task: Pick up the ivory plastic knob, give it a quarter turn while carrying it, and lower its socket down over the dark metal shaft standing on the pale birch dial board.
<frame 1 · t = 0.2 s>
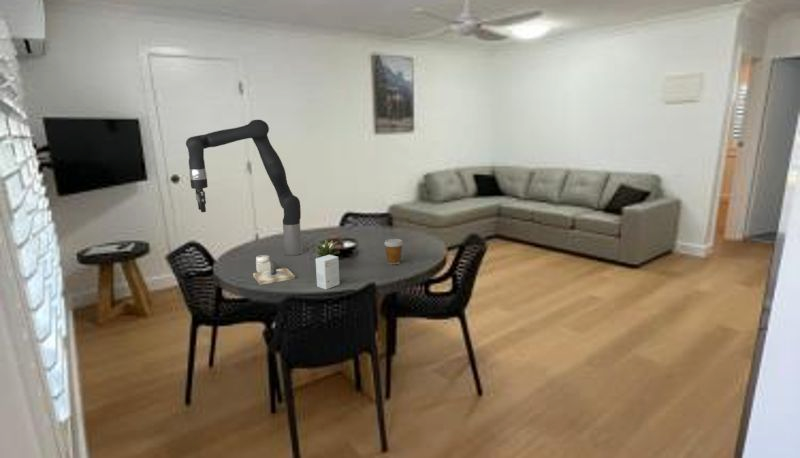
hand: (202, 210, 222), 29 cm above the table, tool pointing down, fingers open, 8 cm apart
knob: (263, 271, 219), on the table
dial board: (273, 277, 210), on the table
small box: (328, 286, 198), on the table
disposable coffee cup: (393, 263, 230), on the table
house plant: (326, 272, 216), on the table
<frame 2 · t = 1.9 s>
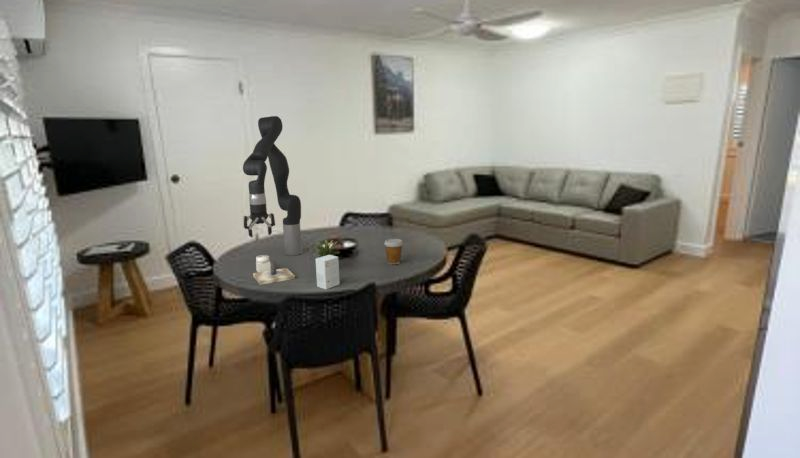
hand: (260, 235, 215), 18 cm above the table, tool pointing down, fingers open, 8 cm apart
nothing on the table moved.
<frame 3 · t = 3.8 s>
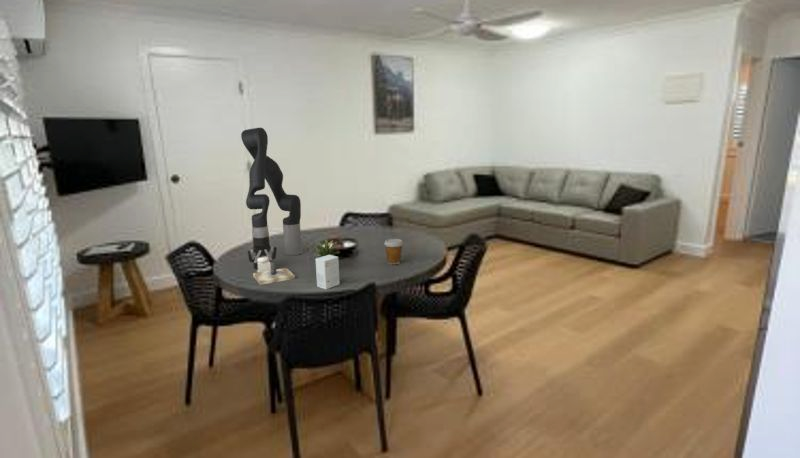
hand: (263, 268, 219), 1 cm above the table, tool pointing down, fingers closed on knob, 6 cm apart
knob: (263, 271, 219), on the table, touching gripper
everything else where it was.
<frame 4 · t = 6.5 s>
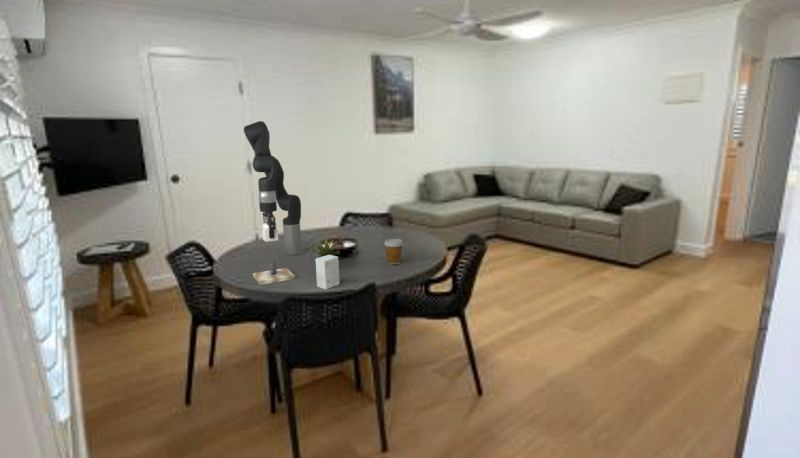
hand: (270, 236, 205), 20 cm above the table, tool pointing down, fingers closed on knob, 6 cm apart
knob: (270, 239, 206), point 18 cm above the table, touching gripper
everything else where it was.
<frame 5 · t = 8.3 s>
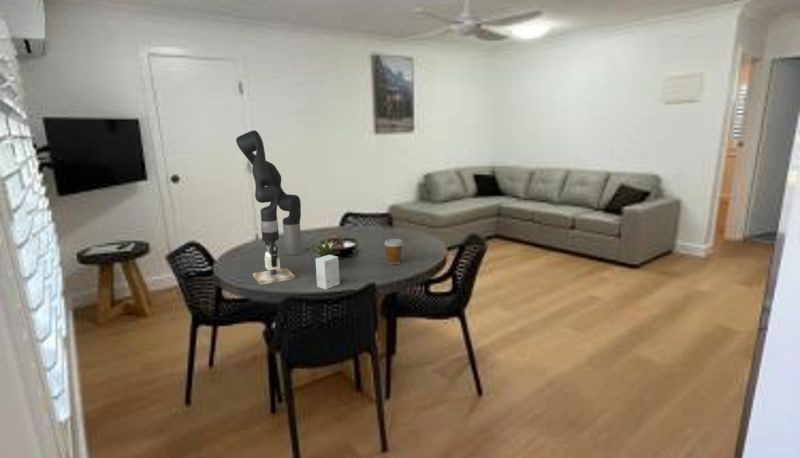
hand: (272, 264, 208), 6 cm above the table, tool pointing down, fingers closed on knob, 6 cm apart
knob: (272, 267, 209), point 5 cm above the table, touching gripper
everything else where it was.
when the fingers open (4 cm above the table, at t = 9.2 s): knob stays where it is, resting on dial board.
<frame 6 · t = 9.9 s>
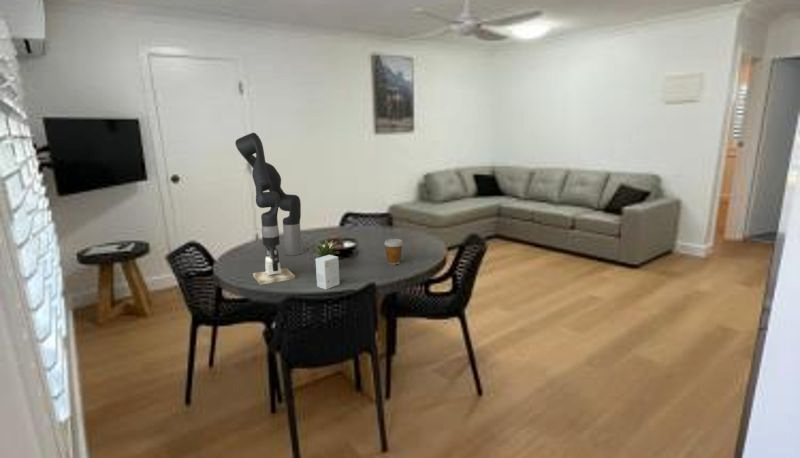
hand: (273, 268, 209), 4 cm above the table, tool pointing down, fingers open, 8 cm apart
knob: (273, 272, 209), point 2 cm above the table, touching dial board
everything else where it was.
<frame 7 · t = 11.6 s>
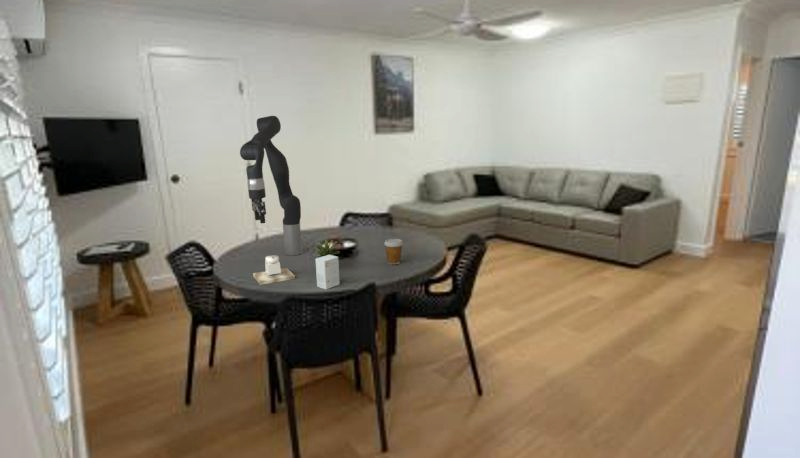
hand: (260, 221, 213), 25 cm above the table, tool pointing down, fingers open, 8 cm apart
nothing on the table moved.
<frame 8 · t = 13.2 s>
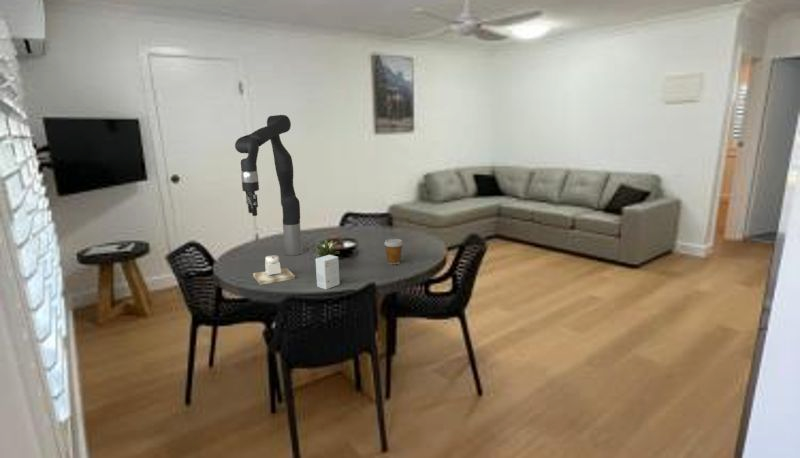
hand: (252, 214, 215), 28 cm above the table, tool pointing down, fingers open, 8 cm apart
nothing on the table moved.
at the end: knob 0.1 cm off-centre on the dial board, point 2.5 cm above the dial board's base; knob tilted 0°; the gripper is holding nothing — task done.
